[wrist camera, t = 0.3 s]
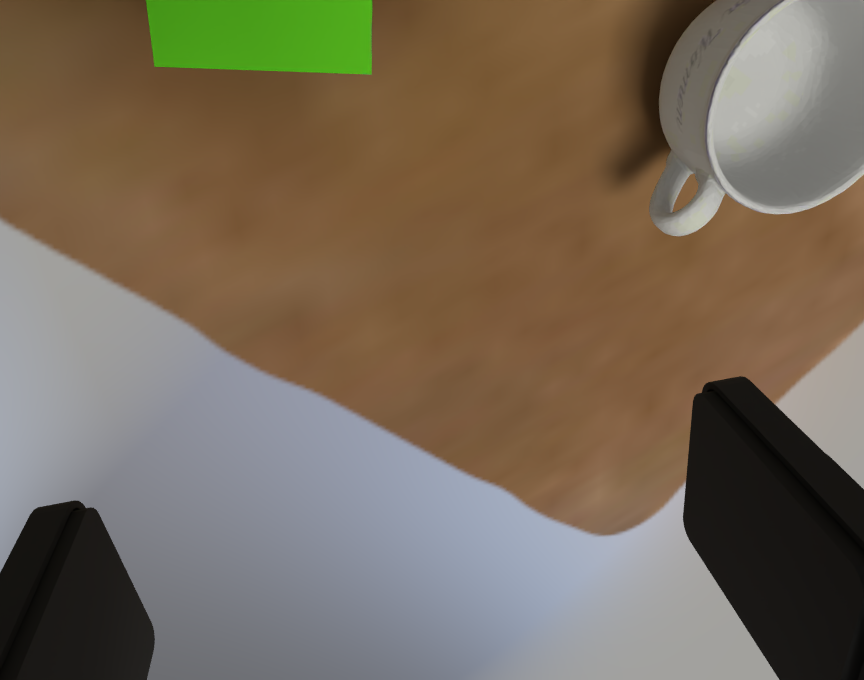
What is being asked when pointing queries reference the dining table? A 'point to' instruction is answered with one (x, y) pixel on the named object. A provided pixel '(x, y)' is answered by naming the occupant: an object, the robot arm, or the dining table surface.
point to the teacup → (762, 108)
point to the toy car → (263, 35)
